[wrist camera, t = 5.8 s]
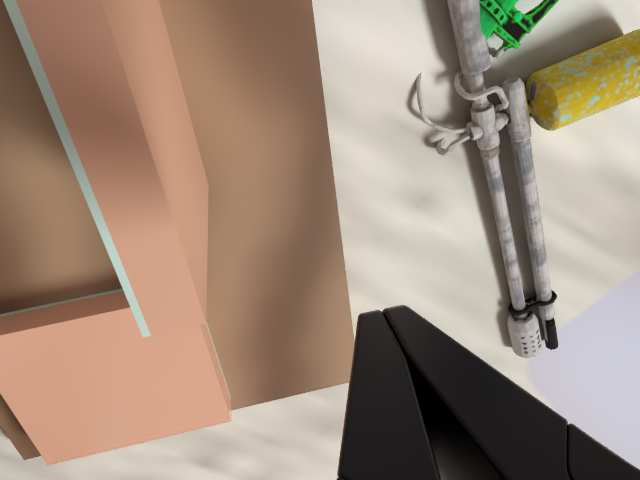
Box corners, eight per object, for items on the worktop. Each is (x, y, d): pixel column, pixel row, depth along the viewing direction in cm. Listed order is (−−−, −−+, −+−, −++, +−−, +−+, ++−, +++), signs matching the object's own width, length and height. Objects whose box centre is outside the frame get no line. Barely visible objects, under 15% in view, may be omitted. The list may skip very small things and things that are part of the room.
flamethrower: (622, -374, 15) (320, -230, 16) (689, -426, 13) (333, -256, 14) (632, 295, 31) (480, 352, 32) (663, 324, 29) (498, 385, 29)
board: (31, 440, 27) (24, 459, 26) (-268, -11, 16) (-302, -9, 15) (353, 364, 29) (359, 379, 27) (294, -92, 17) (299, -95, 16)
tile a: (230, 396, 26) (56, 438, 25) (191, 273, 22) (-18, 318, 21) (231, 420, 25) (47, 465, 24) (189, 294, 21) (-34, 342, 20)
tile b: (169, 192, 20) (143, 337, 13) (99, -29, 16) (-4, -15, 8) (208, 185, 20) (206, 323, 13) (149, -37, 16) (92, -30, 9)
